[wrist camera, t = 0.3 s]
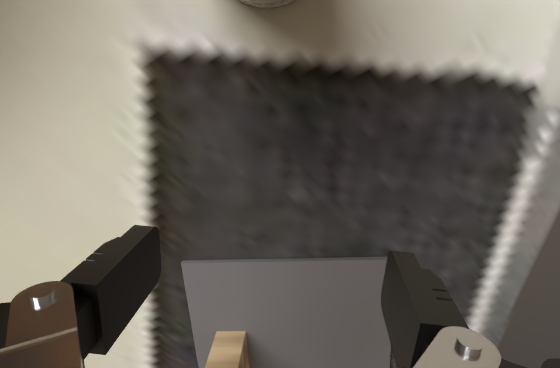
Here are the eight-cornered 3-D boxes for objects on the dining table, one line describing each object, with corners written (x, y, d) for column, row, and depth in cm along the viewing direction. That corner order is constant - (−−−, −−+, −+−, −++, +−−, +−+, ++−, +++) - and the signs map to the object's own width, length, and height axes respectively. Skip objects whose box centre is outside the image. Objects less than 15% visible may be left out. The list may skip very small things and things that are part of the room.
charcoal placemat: (182, 260, 34) (180, 263, 34) (394, 256, 33) (395, 259, 32) (210, 425, 42) (209, 429, 41) (385, 428, 40) (386, 433, 40)
